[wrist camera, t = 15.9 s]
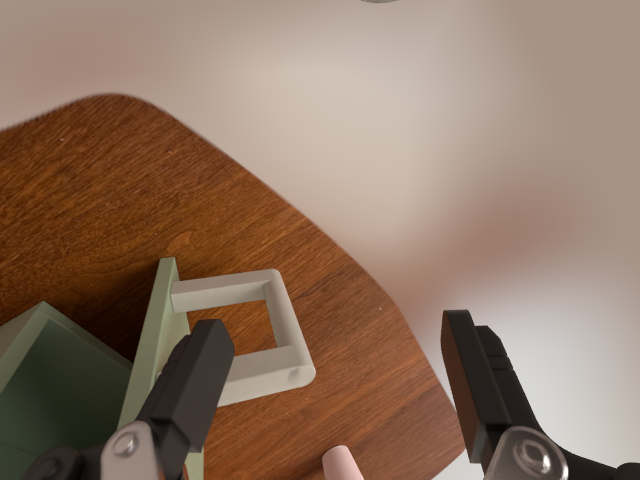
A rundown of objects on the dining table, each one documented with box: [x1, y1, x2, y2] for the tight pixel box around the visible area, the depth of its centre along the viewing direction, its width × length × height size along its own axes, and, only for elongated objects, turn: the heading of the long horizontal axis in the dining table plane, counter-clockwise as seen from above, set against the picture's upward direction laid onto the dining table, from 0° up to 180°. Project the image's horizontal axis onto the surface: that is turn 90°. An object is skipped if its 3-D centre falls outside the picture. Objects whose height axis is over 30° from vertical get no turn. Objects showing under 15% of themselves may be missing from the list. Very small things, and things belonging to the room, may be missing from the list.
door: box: [117, 257, 316, 480], centre depth 22 cm, size 8×16×14 cm, turn 178°
